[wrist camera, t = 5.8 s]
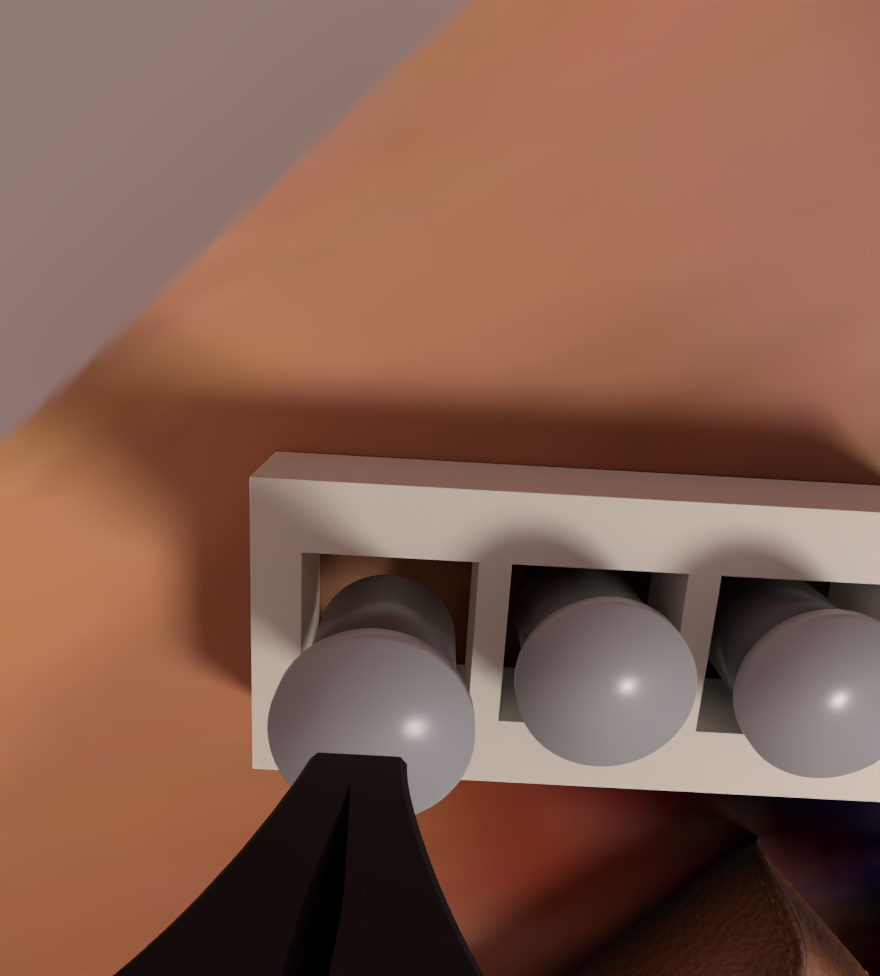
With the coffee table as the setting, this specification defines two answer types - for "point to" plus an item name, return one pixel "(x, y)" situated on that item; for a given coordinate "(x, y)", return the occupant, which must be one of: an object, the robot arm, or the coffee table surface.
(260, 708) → the knob board
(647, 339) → the coffee table surface
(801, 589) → the knob
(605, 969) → the sunglasses case
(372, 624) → the knob
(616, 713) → the knob middle
